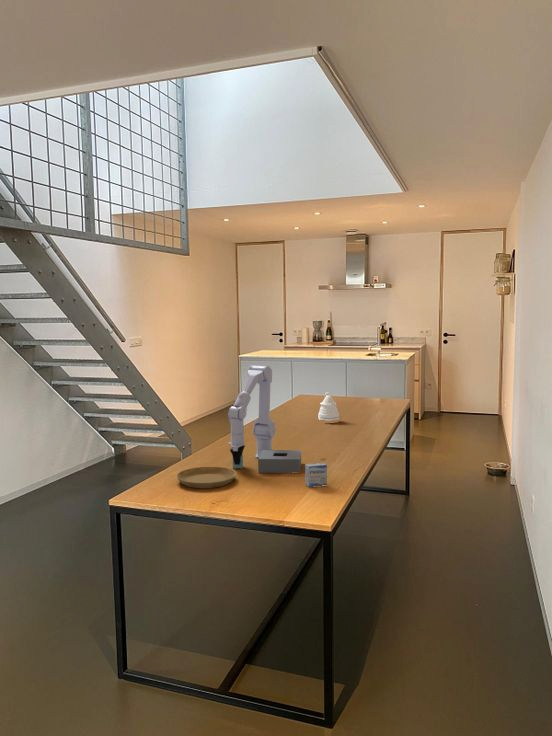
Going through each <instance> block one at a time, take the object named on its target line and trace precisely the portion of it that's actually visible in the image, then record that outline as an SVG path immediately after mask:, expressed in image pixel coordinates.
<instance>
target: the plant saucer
mask: <svg viewBox="0 0 552 736" xmlns="http://www.w3.org/2000/svg"><path fill="white" fill-rule="evenodd" d="M236 476H237V472H236V471H235V470H233V469H231V468H227V467H220V466H200V467H191V468H188V469H184V470H181V471H180V472H178V473H177V474H176V478H177V480H178V481H179V482H180V483H181V484H182V485H183V486H186V487H189V488H193V489H194V488H195V489H214V488H219V486H220V487H224V486H225V485H228V484H229V483H231V482H232V481H233V480H234V479H235V477H236ZM213 487H214V488H213Z"/></svg>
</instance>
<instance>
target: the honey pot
mask: <svg viewBox="0 0 552 736" xmlns="http://www.w3.org/2000/svg"><path fill="white" fill-rule="evenodd" d="M324 394H325V396H324V399H323V400H322V402H320V403H319V404H320V408H319V412H318V413H317V414H318V415H317V416H318V418H317V420H318V419H319V420H325V421H332V420H338V419H339V420H340V413H339V410H338V407H337V403H336V402H335V400H334V398H333V397H332V396H331V395H330V392H325V393H324Z"/></svg>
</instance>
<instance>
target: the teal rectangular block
mask: <svg viewBox="0 0 552 736" xmlns="http://www.w3.org/2000/svg"><path fill="white" fill-rule="evenodd" d="M236 468H242V469H243V468H244V456H243V454H242V455H241V459H240V464H239V465H235V464H234V459H233V458H232V469H236Z"/></svg>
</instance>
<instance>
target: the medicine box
mask: <svg viewBox="0 0 552 736" xmlns="http://www.w3.org/2000/svg"><path fill="white" fill-rule="evenodd" d="M304 484H305V486H306V485H307V486H306V487H308V488H309V487H312V488H314V487H313V486H322V485H327V486H328V465H327V464H326V463H325V462H317V463H315V462H314V463H305V464H304ZM322 487H323V486H322Z"/></svg>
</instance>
